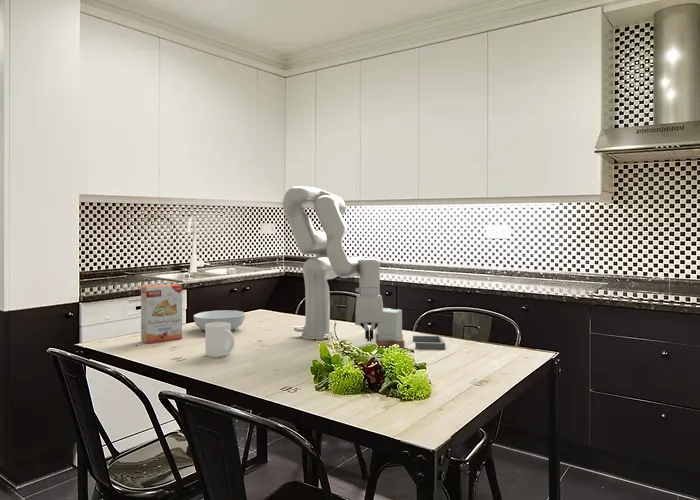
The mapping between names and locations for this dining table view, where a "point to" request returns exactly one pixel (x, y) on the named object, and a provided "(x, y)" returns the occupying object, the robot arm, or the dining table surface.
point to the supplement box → (390, 325)
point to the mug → (218, 339)
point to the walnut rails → (389, 342)
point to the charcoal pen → (429, 345)
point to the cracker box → (161, 313)
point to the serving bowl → (219, 318)
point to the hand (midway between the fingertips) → (369, 340)
